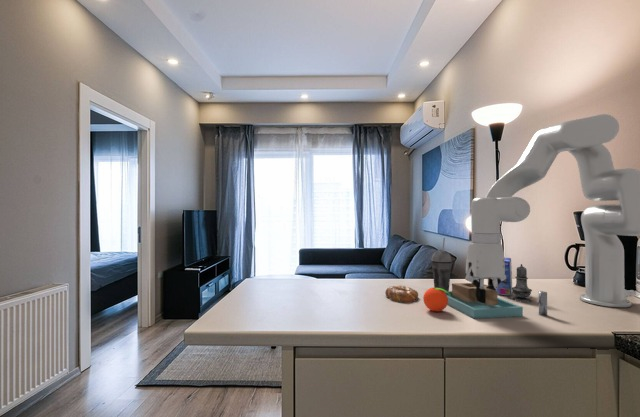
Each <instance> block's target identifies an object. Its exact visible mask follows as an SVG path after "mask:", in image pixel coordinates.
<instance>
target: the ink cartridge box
mask: <svg viewBox="0 0 640 417" xmlns="http://www.w3.org/2000/svg"><path fill="white" fill-rule="evenodd" d="M504 261H505V275H506V279H505V280H503V281H501V282H500V283H499V285H498V288H497V289H496V291H497V296H499V295H500V296H507V297H508V296H509V297H511V296H512V294H513V290H512V289H511V288H512V287H513V274H512V273H513V271H512V270H513V266H512V258H511V257H504Z"/></svg>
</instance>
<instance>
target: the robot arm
mask: <svg viewBox="0 0 640 417" xmlns="http://www.w3.org/2000/svg"><path fill="white" fill-rule="evenodd" d="M619 131H620V124H619V121H618V119H617V118H616V117H614V116H613V115H611V114H607V113H601V114H596V115H592V116H587V117H582V118H579V119H572V120H567V121H563V122H559V123H555V124H552V125H549V126H544V127H543V128H541V129H539V130H537V131H536V132H535V133H534V134H533V136H532V137H531V139H530V140H529V142H528V143H527V145H526V148H525V149H524V150H523V152H522V154H521V156H520V158H519V159H518V161H517V163H516V164H515V165H514V166H512V168H511V169H509V170H508V171H507V172H506V173H504V174H503V175H502V176H501V177H500V178H499V179H497V180H496V181H495V183H493V184H492V186H491V187H490V189H489V190H488V192H487V193H486V195H485V197H475V198H473V199H472V201H471V203H470V205H471V210H470V213H471V214H470V215H471V218H470V219H471V221H470V222H471V243H468V247H467V251H466V259H465V274H466V275H465V278H464V279H465V281H467V282H468V283H472V284H473V285H474V286H475V287H476V297H477V301H480V302H482V303H485V289H483V288H484V284H485V279H487V285H488V287H486V288H488V289H491V290H495V291H496V289H497V288H498V285H499V283H500V282H501V281H503V280H505V279H506V275H505V261H504V258H505V254H504V248H503V244H502V243H501V241H502V240H503V235H502V234H501V224H500V223H501V222H504V223H518V222H522V221H524V220H526V219H527V218H528V217H529V215H530V212H531V206H530V204H529V202H528V201H527V200H526V199H525V198H523V197H518V196H514V195H515V194H517V193H518V192H520V191H521V190H523V189H525V188H528V187H530V186H532V185H534V184H536V183H537V182H540V181H541V180H543V179H544V178H545V177H546V176H547V174H548V173H549V172H548V171H549V170H550V169H551V167H552V165H553V163H554V162H555V160H556V158H557V157H558V155H559V154H560V153H562V152H568V153H570V154H571V155H572V156H573V157H574V159H575V161H576V162H577V166H578V167H577V168H578V173H579V179H580V184H581V189H582V190H581V191H582V193H583V197H585V199H587V200H589V201H593V202H594V201H596V202H597V201H598V202H603V201H604V202H607V201H609V202H610V201H612V202H613V201H619V204H618V203H617V204H616V203H615V204H614V203H612V204H611V203H610V204H608V203H607V204H595V205H591V206H588V207H586V208H585V209H584V210H583V211H582V213H581V215H580V222H581V226H582V231H583V235H584V249H585V250H584V251H585V252H584V253H585V255H584V258H585V259H584V264H585V265H584V266H585V268H584V269H585V273H584V274H585V276H584V277H585V278H584V279H585V282H584V284H585V293H581V294H579V299H580V301H582V302H585V303H589V304H592V305H597V306H602V307H610V308H629V307H631V306H632V302H631V301H630V300H628V299H627V298H628V297H636V295H637V293H636V291H635V290H633V289H630V290H627V289H625V249H624V245H623V243H622V241H621V240H620V237H618V236H626V237H627V236H628V237H630V236H631V237H637V236H638V237H639V236H640V170H638V169H635V168H617V169H616V168H615V167H614V162H613V158H612V154H611V152H610V150H609V149H608V148H607V147H606V146H605V145H604V144H607V143H610V142H612V140H614V139H615V138H616V137H617V135H619Z"/></svg>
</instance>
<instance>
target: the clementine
mask: <svg viewBox="0 0 640 417" xmlns="http://www.w3.org/2000/svg"><path fill="white" fill-rule="evenodd" d="M444 291H445V292H447V291H446V290H444V289H441V288H436V287H435V288H434V287H430V288H428V289H426V291H425V292H424V294H423V297H422V299H423V302H424V306H425V307H426V308H427V309H428V310H430V311H433V312H435V313H436V312H438V313H439V312H442V311H443V310H445V309H446V307H447V306H448V305H447V304H448V297H447V295H446V293H445V292H444ZM447 293H448V292H447ZM448 294H449V293H448ZM449 295H450V294H449ZM450 297H451V296H450Z"/></svg>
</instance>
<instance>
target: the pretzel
mask: <svg viewBox="0 0 640 417" xmlns="http://www.w3.org/2000/svg"><path fill="white" fill-rule="evenodd" d="M385 296H386V298H388V299H390V300H392V301H394V302H402V303H413V302H414V301H415V302H416V301H417V300H418V298H419V293H418V291H417V290H415V289H413V288H411V287H408V286H407V287H406V286H405V285H397V286H395V285H392V286H389V287H387V289H386V290H385Z"/></svg>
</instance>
